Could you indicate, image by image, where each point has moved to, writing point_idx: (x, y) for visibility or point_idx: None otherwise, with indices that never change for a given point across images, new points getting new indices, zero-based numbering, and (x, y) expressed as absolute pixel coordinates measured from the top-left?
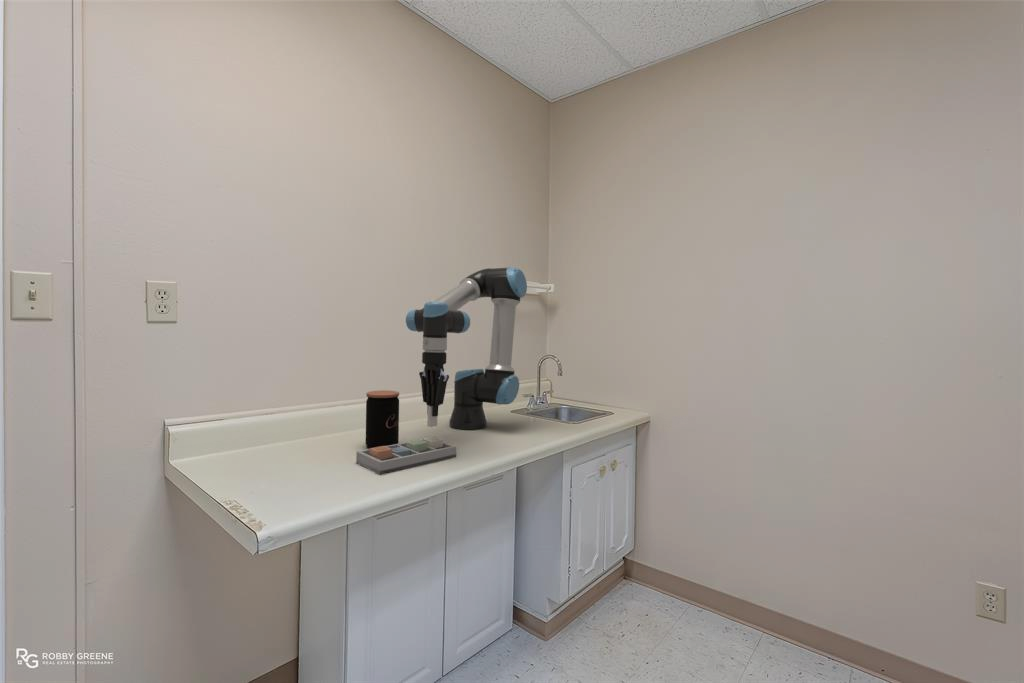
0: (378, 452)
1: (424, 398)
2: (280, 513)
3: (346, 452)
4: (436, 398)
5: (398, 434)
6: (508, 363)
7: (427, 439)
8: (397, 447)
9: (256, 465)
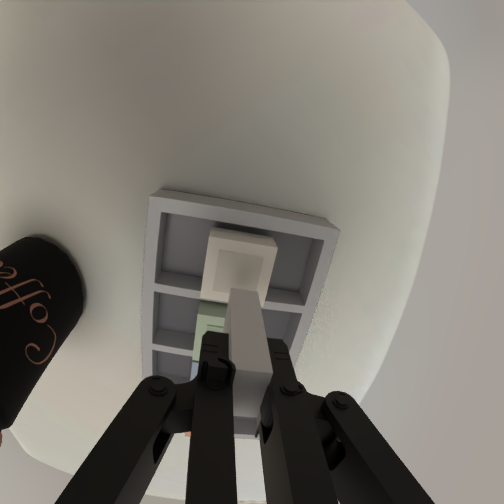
0: None
1: (160, 442)
2: None
3: (61, 367)
4: (334, 466)
5: (49, 267)
6: None
7: (225, 293)
8: (192, 374)
9: (78, 452)
